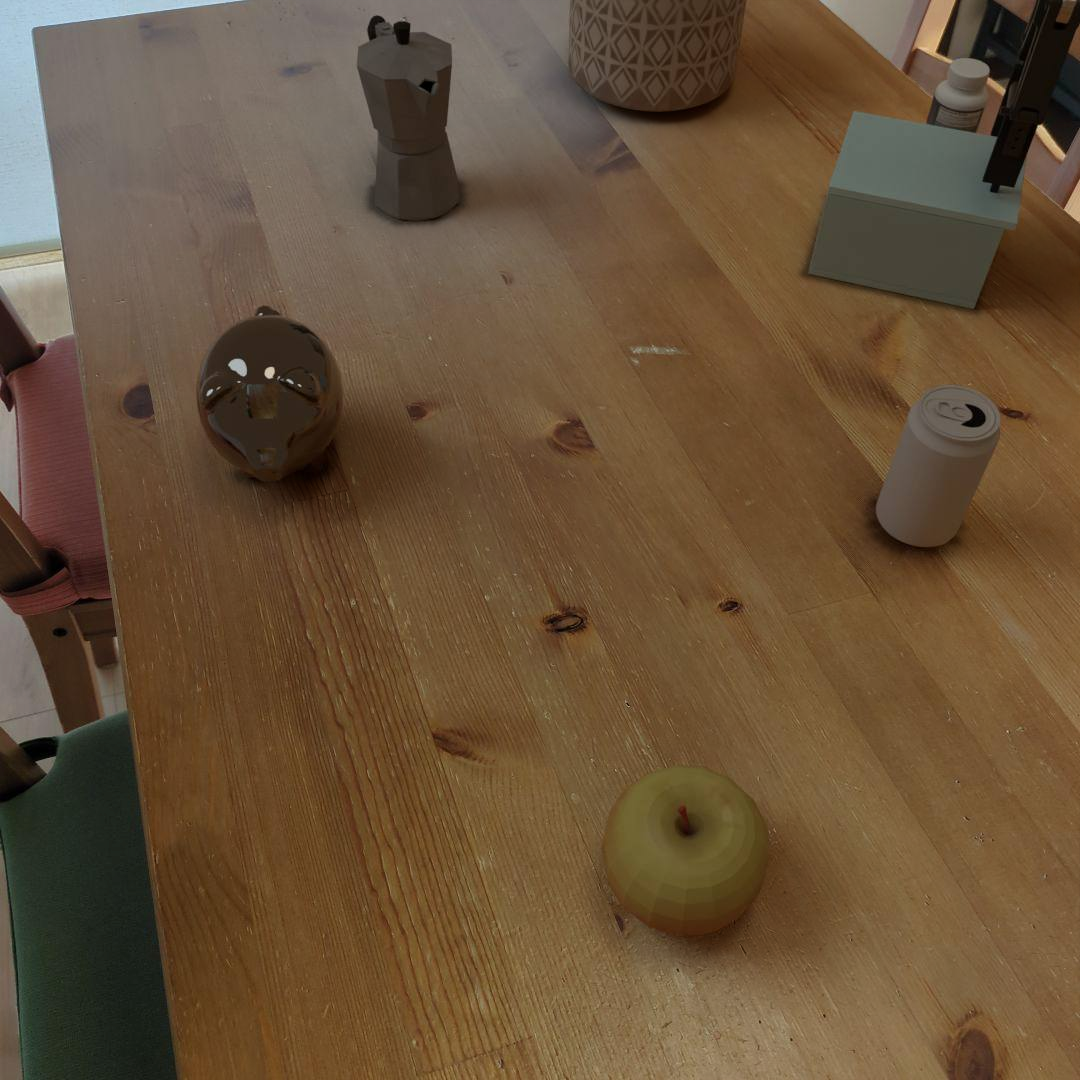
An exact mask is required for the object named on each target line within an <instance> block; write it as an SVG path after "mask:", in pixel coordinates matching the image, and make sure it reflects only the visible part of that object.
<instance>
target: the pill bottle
mask: <svg viewBox="0 0 1080 1080" xmlns="http://www.w3.org/2000/svg"><path fill="white" fill-rule="evenodd" d="M990 72H991V70H990V67H989V65H988V64H986V63H985V62H983V61H982V60H979V59H975V58H969V57H960V58H957V59H954V60H952V61H951V63H950V64H949V66H948V69H947V72H946V79H944V80H942V81H941V82H939V84H938V85H937V86H936V88H935V91H934V94H933V98H932V102H931V105H930V108H929V110H928V111H929V112H928V115H927V118H926V122H925V124H929V125H934V126H940V127H945V128H951V129H956V130H962V131H967V132H972V133H979V128H980V125H981V122H982V119H983V117H984V113H985V110H986V108H987V104H988V102H989V92H988V91H989V90H988V89H987V88H986V85H987V83H988V81H989V80H988V79H989V76H990Z"/></svg>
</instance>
